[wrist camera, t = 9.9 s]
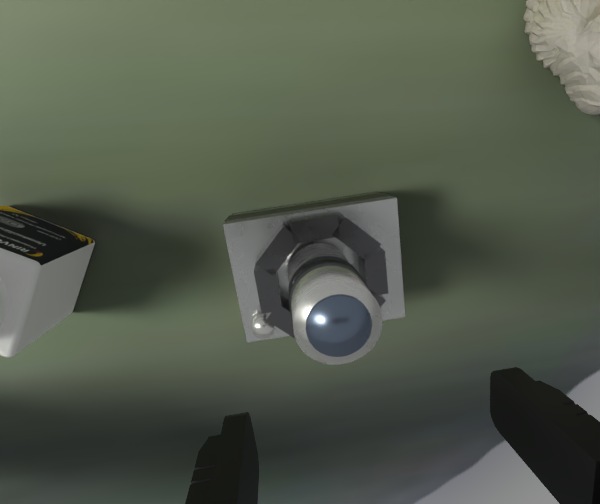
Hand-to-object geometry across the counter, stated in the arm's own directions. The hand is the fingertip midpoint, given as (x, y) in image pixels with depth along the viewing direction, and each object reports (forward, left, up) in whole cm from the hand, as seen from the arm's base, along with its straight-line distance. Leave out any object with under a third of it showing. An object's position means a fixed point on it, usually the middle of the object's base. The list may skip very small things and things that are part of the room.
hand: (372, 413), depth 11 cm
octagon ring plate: (0, 0, -19) cm, 19 cm away
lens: (0, 0, -14) cm, 14 cm away
